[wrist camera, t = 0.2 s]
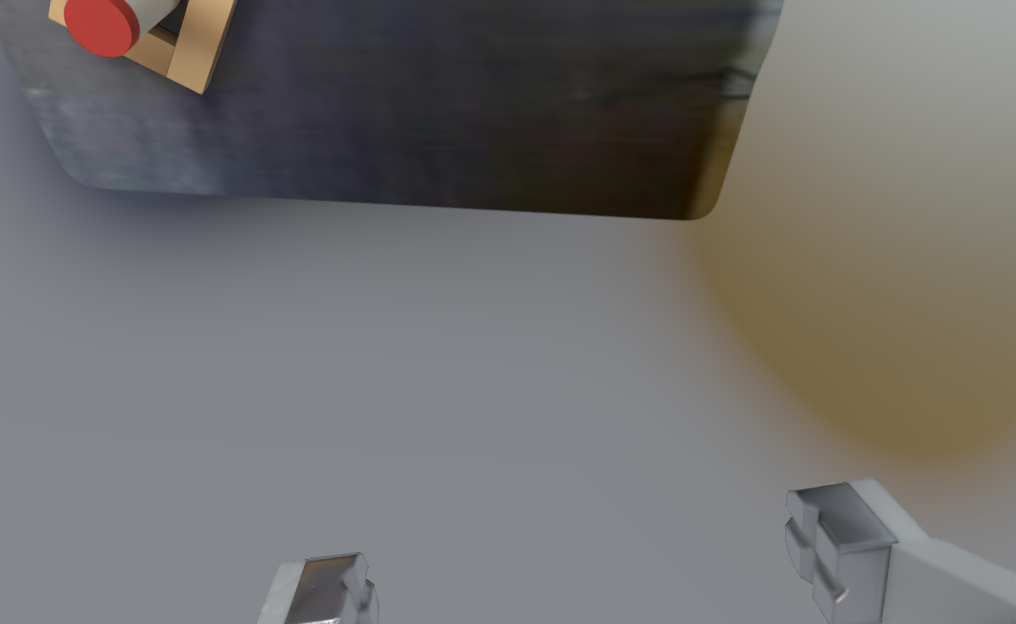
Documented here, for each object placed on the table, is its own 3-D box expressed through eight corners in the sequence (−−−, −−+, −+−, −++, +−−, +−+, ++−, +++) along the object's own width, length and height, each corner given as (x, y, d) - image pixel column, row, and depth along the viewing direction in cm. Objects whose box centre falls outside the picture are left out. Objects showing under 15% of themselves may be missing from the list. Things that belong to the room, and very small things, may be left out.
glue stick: (133, -55, 48) (68, -21, 40) (188, -23, 50) (138, 16, 41) (121, -6, 50) (58, 36, 42) (175, 23, 52) (124, 69, 44)
